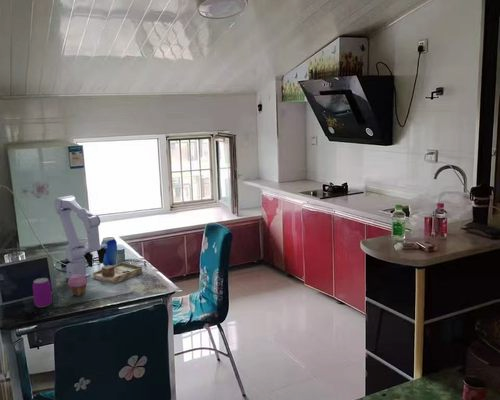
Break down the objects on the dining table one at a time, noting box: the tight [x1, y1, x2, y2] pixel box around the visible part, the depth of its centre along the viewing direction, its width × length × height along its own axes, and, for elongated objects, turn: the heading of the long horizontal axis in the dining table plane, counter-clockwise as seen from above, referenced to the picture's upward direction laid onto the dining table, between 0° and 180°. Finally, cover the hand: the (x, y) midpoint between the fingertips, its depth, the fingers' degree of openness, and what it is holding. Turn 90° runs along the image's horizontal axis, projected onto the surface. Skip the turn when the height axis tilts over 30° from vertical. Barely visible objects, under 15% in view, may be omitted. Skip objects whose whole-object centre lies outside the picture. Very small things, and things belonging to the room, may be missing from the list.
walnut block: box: [101, 265, 115, 277], centre depth 265 cm, size 4×4×4 cm
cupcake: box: [67, 274, 88, 297], centre depth 244 cm, size 9×9×10 cm
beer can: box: [100, 236, 118, 267], centre depth 286 cm, size 8×8×16 cm
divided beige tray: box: [92, 261, 143, 285], centre depth 270 cm, size 20×16×4 cm
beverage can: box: [32, 277, 53, 308], centre depth 232 cm, size 8×8×12 cm
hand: (95, 264), depth 258 cm, fingers open, 6 cm apart
